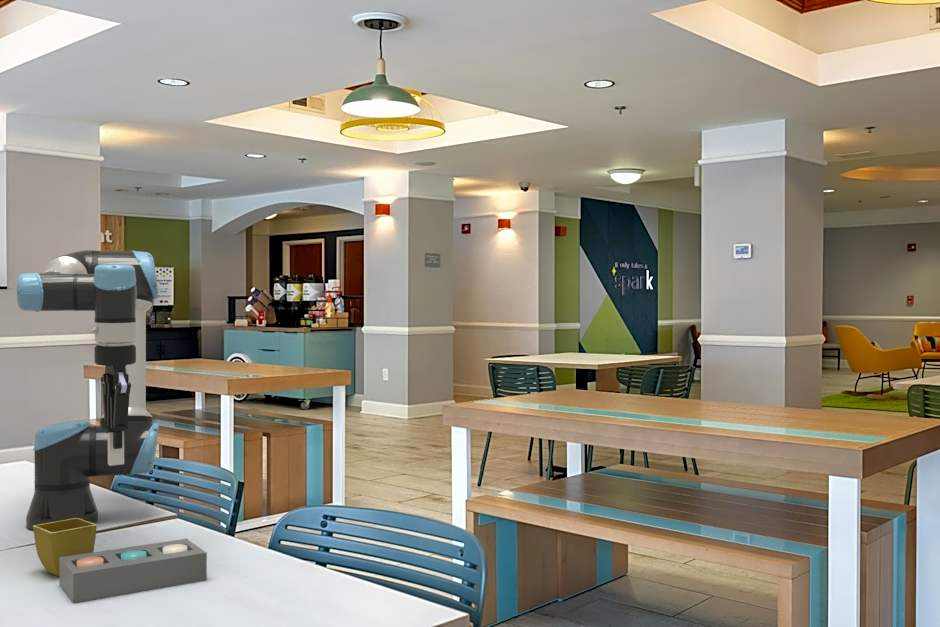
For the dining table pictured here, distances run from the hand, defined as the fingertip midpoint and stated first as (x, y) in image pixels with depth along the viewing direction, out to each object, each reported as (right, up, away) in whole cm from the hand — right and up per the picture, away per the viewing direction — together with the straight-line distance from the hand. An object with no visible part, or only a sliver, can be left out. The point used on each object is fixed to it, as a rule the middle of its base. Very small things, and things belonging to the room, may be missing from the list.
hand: (116, 464), depth 178 cm
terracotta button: (+2, -18, -16) cm, 24 cm away
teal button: (+8, -18, -12) cm, 22 cm away
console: (+8, -20, -11) cm, 24 cm away
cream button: (+14, -18, -7) cm, 24 cm away
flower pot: (-8, -20, -5) cm, 22 cm away
